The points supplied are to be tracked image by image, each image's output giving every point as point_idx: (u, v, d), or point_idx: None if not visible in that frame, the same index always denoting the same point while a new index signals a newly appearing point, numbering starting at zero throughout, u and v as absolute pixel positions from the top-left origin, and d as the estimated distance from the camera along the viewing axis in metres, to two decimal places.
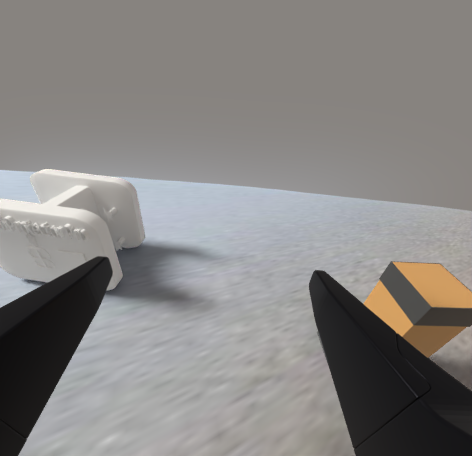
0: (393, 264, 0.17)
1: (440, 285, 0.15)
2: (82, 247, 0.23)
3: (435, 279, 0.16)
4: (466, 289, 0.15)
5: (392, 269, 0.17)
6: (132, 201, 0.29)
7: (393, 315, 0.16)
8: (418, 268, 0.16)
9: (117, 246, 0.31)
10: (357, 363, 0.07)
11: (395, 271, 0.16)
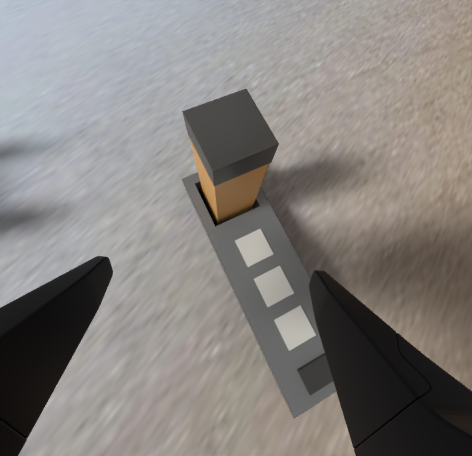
0: (185, 115, 0.12)
1: (234, 129, 0.12)
2: None
3: (232, 120, 0.12)
4: (262, 123, 0.12)
5: (186, 122, 0.13)
6: None
7: (206, 175, 0.15)
8: (216, 109, 0.12)
9: None
10: (357, 363, 0.07)
11: (188, 125, 0.12)
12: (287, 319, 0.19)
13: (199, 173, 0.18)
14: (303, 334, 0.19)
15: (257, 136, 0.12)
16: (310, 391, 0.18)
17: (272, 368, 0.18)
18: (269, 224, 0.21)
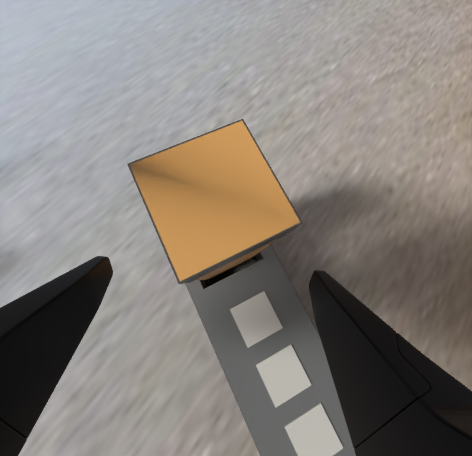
0: (133, 171, 0.07)
1: (221, 197, 0.07)
2: None
3: (217, 180, 0.07)
4: (272, 183, 0.07)
5: None
6: None
7: None
8: (188, 158, 0.07)
9: None
10: (357, 363, 0.07)
11: None
12: (302, 425, 0.14)
13: None
14: (326, 448, 0.14)
15: (263, 209, 0.07)
16: None
17: None
18: (276, 285, 0.16)
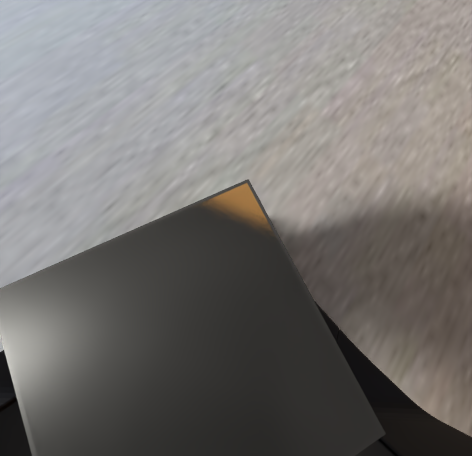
0: (2, 311, 0.03)
1: (199, 373, 0.03)
2: None
3: (192, 327, 0.03)
4: (313, 330, 0.03)
5: None
6: None
7: None
8: (130, 274, 0.03)
9: None
10: None
11: None
12: None
13: None
14: None
15: (296, 401, 0.03)
16: None
17: None
18: None
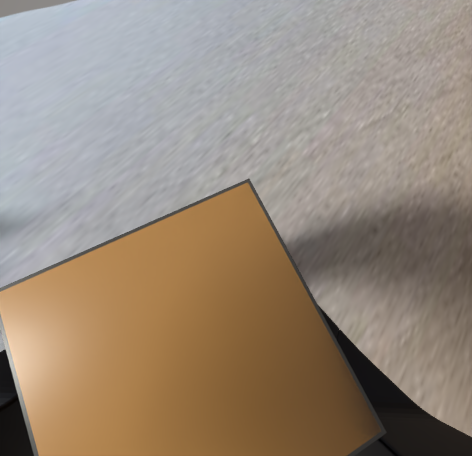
0: (3, 309, 0.03)
1: (200, 372, 0.03)
2: None
3: (193, 326, 0.03)
4: (315, 329, 0.03)
5: None
6: None
7: None
8: (131, 274, 0.03)
9: None
10: None
11: None
12: None
13: None
14: None
15: (297, 400, 0.03)
16: None
17: None
18: None
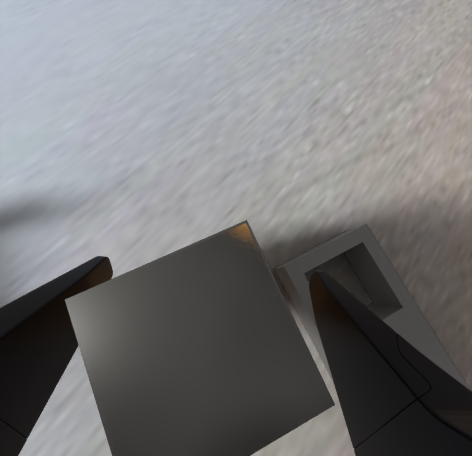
0: (73, 312, 0.04)
1: (208, 359, 0.04)
2: None
3: (203, 327, 0.04)
4: (288, 332, 0.04)
5: None
6: None
7: None
8: (161, 289, 0.05)
9: None
10: (357, 363, 0.07)
11: None
12: None
13: None
14: None
15: (274, 380, 0.04)
16: None
17: None
18: (421, 338, 0.14)
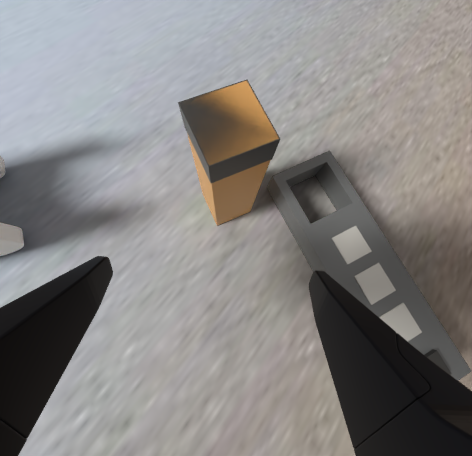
0: (181, 107, 0.12)
1: (232, 122, 0.11)
2: None
3: (230, 113, 0.12)
4: (263, 116, 0.12)
5: (182, 115, 0.12)
6: None
7: (203, 171, 0.14)
8: (214, 101, 0.12)
9: None
10: (357, 363, 0.07)
11: (184, 118, 0.12)
12: (391, 316, 0.19)
13: (197, 169, 0.18)
14: (409, 331, 0.19)
15: (257, 130, 0.11)
16: None
17: None
18: (364, 221, 0.21)
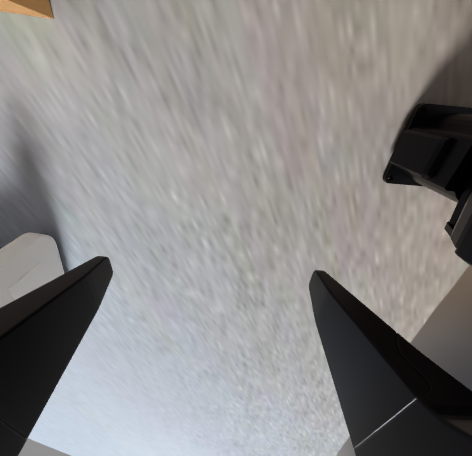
0: None
1: None
2: None
3: None
4: None
5: None
6: None
7: None
8: None
9: None
10: (357, 363, 0.07)
11: None
12: None
13: None
14: None
15: None
16: None
17: None
18: None
